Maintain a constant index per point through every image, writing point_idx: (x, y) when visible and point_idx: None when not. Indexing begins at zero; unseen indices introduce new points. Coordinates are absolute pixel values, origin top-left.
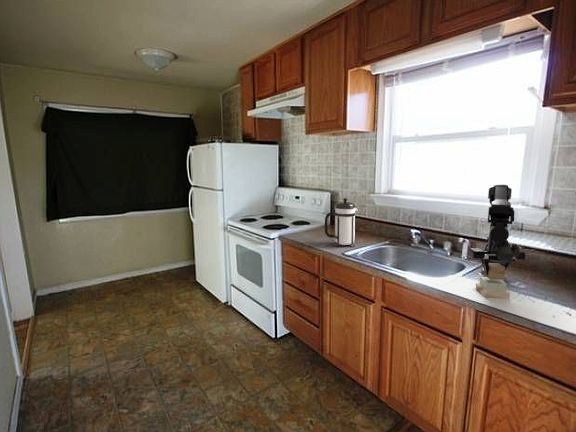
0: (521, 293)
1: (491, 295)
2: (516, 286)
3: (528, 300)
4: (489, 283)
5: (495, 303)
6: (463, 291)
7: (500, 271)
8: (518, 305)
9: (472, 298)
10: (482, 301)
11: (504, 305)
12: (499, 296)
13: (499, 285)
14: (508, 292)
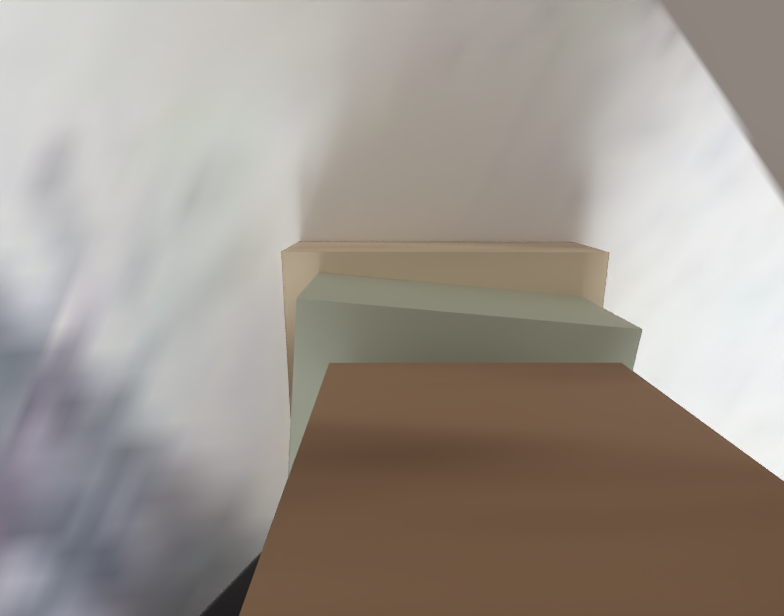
0: (92, 396)
1: (511, 245)
2: (70, 572)
3: (94, 202)
4: (592, 326)
5: (541, 70)
6: (729, 400)
7: (444, 479)
8: (282, 31)
9: (743, 204)
10: (671, 120)
11: (459, 14)
12: (411, 245)
13: (420, 302)
14: (298, 249)
